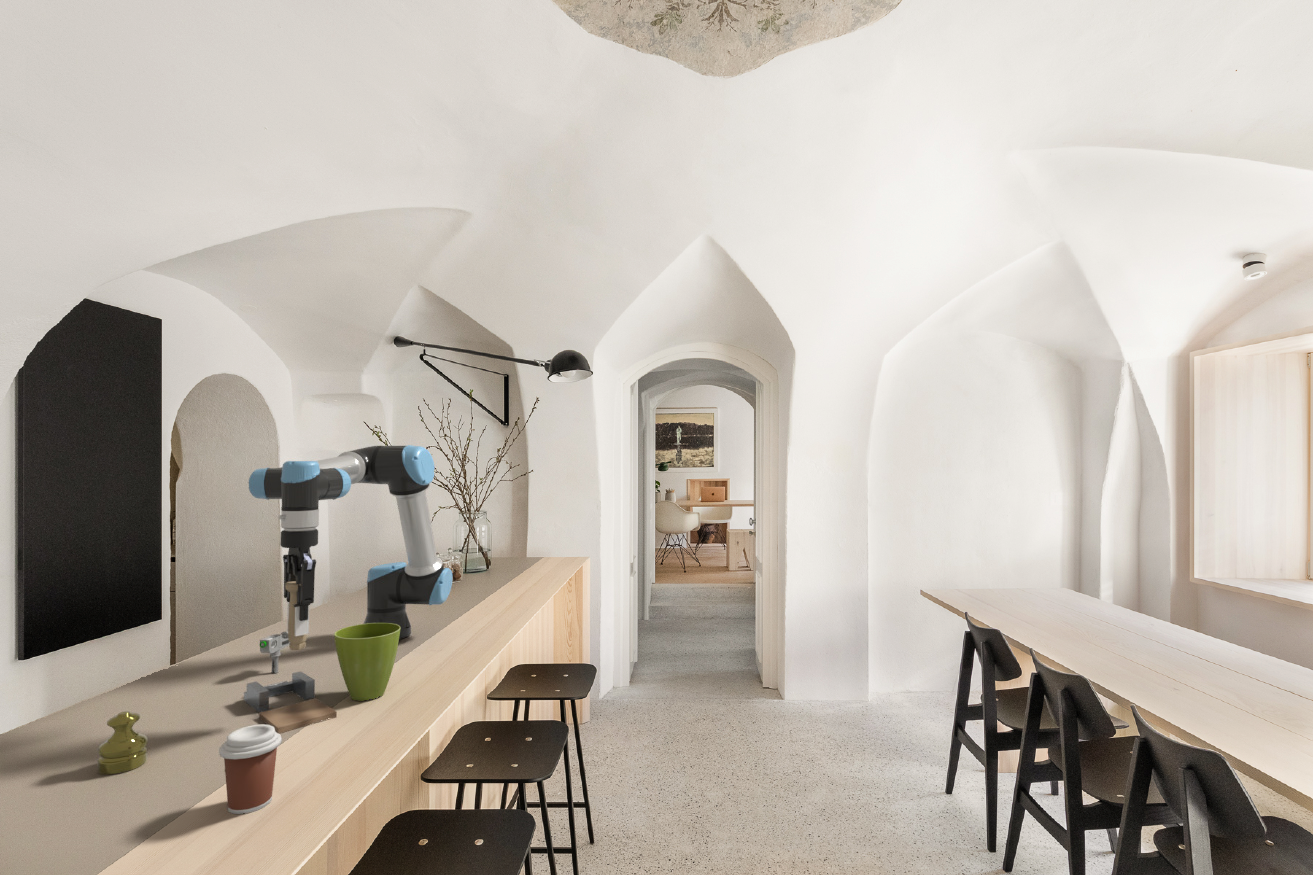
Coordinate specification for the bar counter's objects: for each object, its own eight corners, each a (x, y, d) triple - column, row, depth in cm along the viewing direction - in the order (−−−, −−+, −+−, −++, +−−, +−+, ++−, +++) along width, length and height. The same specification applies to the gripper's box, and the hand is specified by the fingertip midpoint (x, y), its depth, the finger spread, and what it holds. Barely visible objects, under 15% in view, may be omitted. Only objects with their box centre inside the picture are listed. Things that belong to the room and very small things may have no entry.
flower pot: (319, 700, 159) (320, 633, 159) (371, 681, 172) (372, 619, 172) (361, 711, 152) (362, 641, 152) (412, 691, 165) (413, 626, 166)
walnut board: (315, 703, 157) (315, 698, 157) (336, 717, 149) (336, 711, 149) (259, 718, 148) (259, 712, 148) (278, 733, 140) (278, 727, 140)
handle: (280, 653, 145) (281, 584, 146) (291, 645, 152) (292, 579, 152) (303, 652, 146) (304, 584, 147) (314, 644, 152) (315, 579, 153)
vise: (294, 685, 169) (294, 667, 169) (314, 698, 160) (314, 679, 160) (241, 698, 160) (241, 679, 160) (259, 712, 151) (259, 692, 151)
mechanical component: (292, 666, 184) (292, 630, 184) (267, 679, 173) (267, 640, 174) (282, 666, 184) (282, 630, 184) (256, 678, 174) (257, 640, 174)
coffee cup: (291, 789, 117) (292, 721, 117) (262, 817, 108) (263, 743, 108) (238, 790, 117) (239, 721, 117) (205, 818, 108) (206, 744, 108)
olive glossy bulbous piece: (141, 753, 131) (142, 702, 131) (152, 764, 126) (153, 711, 126) (93, 767, 125) (94, 713, 125) (102, 779, 120) (103, 724, 121)
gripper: (268, 527, 153) (266, 629, 152) (295, 533, 141) (293, 643, 141) (303, 524, 158) (301, 623, 158) (331, 530, 147) (330, 636, 146)
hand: (297, 632), depth 149 cm, fingers closed on handle, 4 cm apart
